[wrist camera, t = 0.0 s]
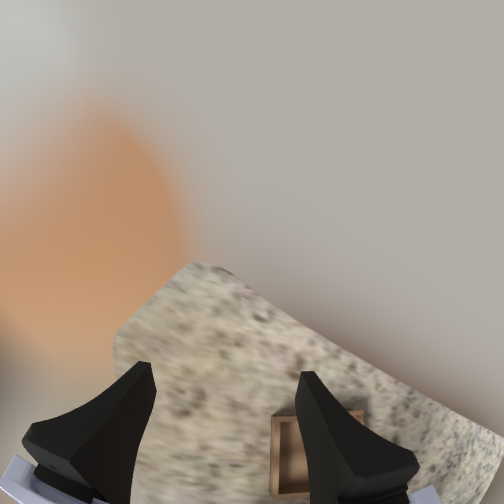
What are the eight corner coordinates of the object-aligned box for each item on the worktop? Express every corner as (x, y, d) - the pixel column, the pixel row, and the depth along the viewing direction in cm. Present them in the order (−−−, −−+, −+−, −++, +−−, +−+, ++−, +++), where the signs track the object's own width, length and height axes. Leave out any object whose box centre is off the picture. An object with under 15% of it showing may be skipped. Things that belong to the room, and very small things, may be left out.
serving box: (351, 481, 31) (361, 486, 27) (269, 490, 30) (272, 498, 26) (352, 410, 38) (363, 409, 34) (271, 416, 38) (274, 416, 34)
